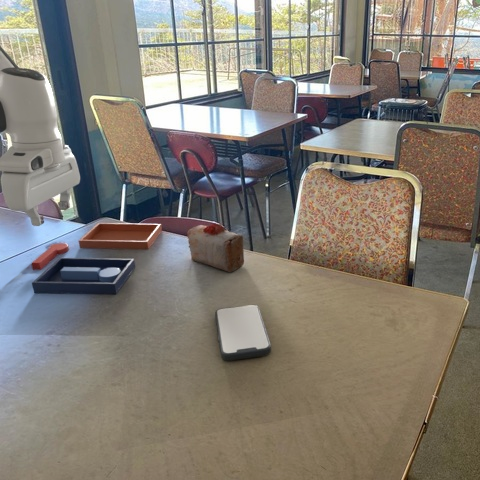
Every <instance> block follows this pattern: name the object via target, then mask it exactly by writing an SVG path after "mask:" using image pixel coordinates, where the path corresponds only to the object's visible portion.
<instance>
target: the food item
mask: <svg viewBox="0 0 480 480" xmlns="http://www.w3.org/2000/svg"><path fill="white" fill-rule="evenodd" d="M187 239H188V240H187V241H188V248H189V252H190V258H191V259H190V260H191V261H192V262H197V263H201V264H203V265H208V266H210V267H214V268H215V269H219V270H222V271H224V272H228V273H233V272H234V271H236V270H237V269H239V268H242V267H243V266H244V264H245V255H244V254H245V251H244V236H243V234H238V233H235V232H232V231H229V230H227V229H225V228H224V226H223V222H222V221H221V222H220V223H219V224H217V223H215V222H214V223H212V224H209V225H203V224H200V225H196V226H193V227H192V228H190V229H189V230H187Z"/></svg>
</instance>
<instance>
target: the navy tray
mask: <svg viewBox="0 0 480 480" xmlns="http://www.w3.org/2000/svg"><path fill="white" fill-rule="evenodd" d="M64 267H85V268H100V270H103V269H106V268H118V269H120V270H121V273H120V274H119V276H118V277H117V278H116V279H115V281H114V282H113V283H102V282H100V281H99V280H63V279H62V277H61V272H60V271H61V270H62V269H63V268H64ZM134 269H136V263H135V258H106V257H105V258H103V257H59V258H57V259H56V260H55V261H54V262H53V263H52V264H51V265H50V266H49V267H48V268H46V269H45V270H44V271H43V272H42V273H41V274H40V275H38V276H37V277H36V278H35V279H34V280H33V281H32V282H31V286H32V290H33V293H34V294H67V295H68V294H71V295H72V294H73V295H75V294H77V295H117V294H118V293H119V292H120V290H121V289H122V287H123V286H124V284H125V283H126V282H127V281H128V279H129V278H130V276H131V273H132V272H133V271H134Z"/></svg>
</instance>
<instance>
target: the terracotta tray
mask: <svg viewBox="0 0 480 480" xmlns="http://www.w3.org/2000/svg"><path fill="white" fill-rule="evenodd" d="M162 232H163V228H162V223H132V222H131V223H130V222H128V223H127V222H126V223H124V222H97V223H96V224H95V225H94V226H93V227H92V228H91V229H90V230H89V231H87V232H86V233H85V234H84V235H83V236H81V238H79V239H78V245H79V248H80V249H112V250H117V249H119V250H149V249H150V248H151V247H152V245H153V244H154V242H155V241H156V240H157V238H158V237H159V236H160V234H161V233H162Z"/></svg>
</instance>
